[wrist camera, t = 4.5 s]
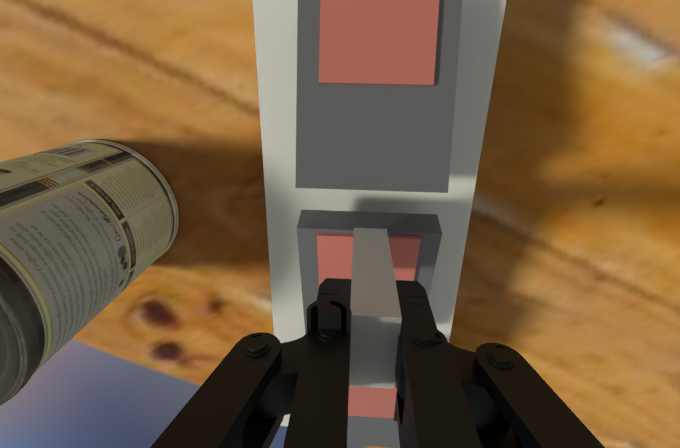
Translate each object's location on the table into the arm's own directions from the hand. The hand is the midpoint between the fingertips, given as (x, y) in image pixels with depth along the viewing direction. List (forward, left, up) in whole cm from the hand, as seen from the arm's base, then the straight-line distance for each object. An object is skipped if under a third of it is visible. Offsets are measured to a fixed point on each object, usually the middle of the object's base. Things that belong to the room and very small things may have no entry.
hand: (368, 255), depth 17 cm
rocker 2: (+3, 0, -4) cm, 5 cm away
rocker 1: (-7, 0, -4) cm, 7 cm away
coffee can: (+2, -19, -10) cm, 22 cm away
